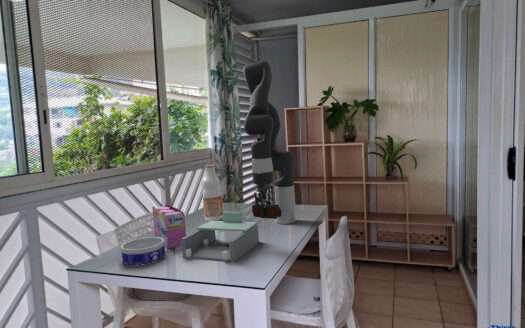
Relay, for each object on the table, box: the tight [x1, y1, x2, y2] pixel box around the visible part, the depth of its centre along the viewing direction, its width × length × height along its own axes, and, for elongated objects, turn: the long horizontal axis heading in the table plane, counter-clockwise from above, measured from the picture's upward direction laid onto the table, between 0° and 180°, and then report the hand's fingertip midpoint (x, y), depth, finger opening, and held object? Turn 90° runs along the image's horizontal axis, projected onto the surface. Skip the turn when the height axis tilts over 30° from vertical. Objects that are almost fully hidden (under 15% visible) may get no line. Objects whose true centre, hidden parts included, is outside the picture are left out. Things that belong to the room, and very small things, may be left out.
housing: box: [181, 223, 260, 262], centre depth 140 cm, size 24×21×7 cm
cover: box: [196, 211, 258, 232], centre depth 145 cm, size 10×21×5 cm, turn 68°
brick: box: [251, 203, 281, 220], centre depth 136 cm, size 11×4×5 cm, turn 55°
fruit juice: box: [201, 164, 224, 222], centre depth 188 cm, size 9×9×28 cm
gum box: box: [151, 203, 187, 249], centre depth 158 cm, size 24×8×14 cm, turn 30°
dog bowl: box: [120, 236, 166, 266], centre depth 137 cm, size 15×15×6 cm
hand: (266, 215), depth 137 cm, fingers closed on brick, 4 cm apart
